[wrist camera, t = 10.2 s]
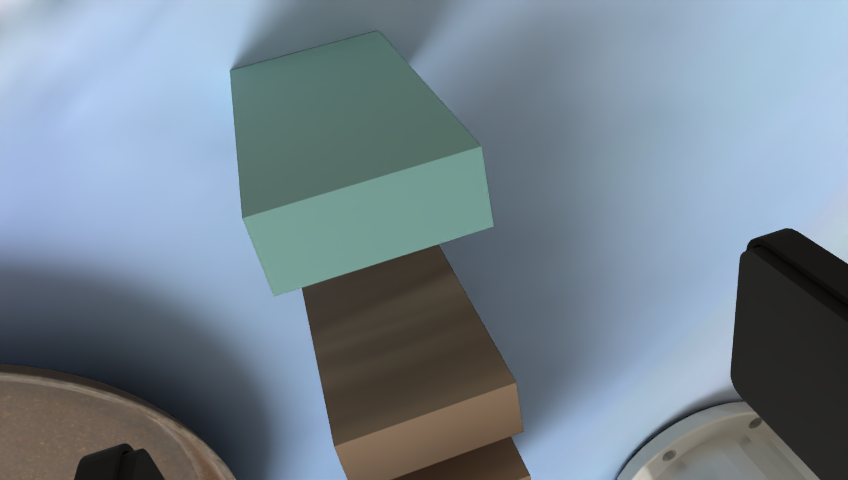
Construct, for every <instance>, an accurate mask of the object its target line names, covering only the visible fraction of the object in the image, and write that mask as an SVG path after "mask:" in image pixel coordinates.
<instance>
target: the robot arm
mask: <svg viewBox="0 0 848 480" xmlns="http://www.w3.org/2000/svg"><path fill="white" fill-rule="evenodd" d="M731 380H732V383H733V385H734V388H735V389H736V391H737V393H738V394H739V395H740V396H741V398H742V399H743V400H744V401H745V402H733V403H727V404H722V405H718V406H714V407H711V408H708V409H705V410H702V411H700V412H697V413H694V414H692V415H690V416H688V417H687V418H685V419H683V420H681V421H679V422H677V423H675V424H673V425H672V426H670V427H669V428H667V429H666V430H664V431H663V432H661V433H660V434H658V435H657V436H656V437H655V438H653V439H652V440H651V441H650V442H648V443H647V444H646V445H645V446H644V447H642V448H641V450H640V451H639V452H638V453H637V454H636V455H635V456H634V457H633V458H632V459H631V460H630V461H629V462H628V464H627V465H626V466H625V468H624V469H623V470H622V472H621V473H620V474H619V476H618V478H617V480H848V264H847V263H846V262H844V261H842V260H841V259H839V258H838V257H836V256H835V255H833V254H832V253H830V252H829V251H827V250H825V249H824V248H822V247H821V246H819V245H818V244H816V243H815V242H813V241H812V240H810V239H808V238H807V237H805V236H804V235H802V234H801V233H799V232H798V231H795V230H793V229H789V228H785V229H782V230H779V231H776V232H773V233H770V234H766V235H763V236H760V237H757V238H754V239H752V240H751V241H750V242H749V243H748V245H747V250H746V251H745V252H743V253H742V254H741V257H740V263H739V275H738V287H737V300H736V312H735V324H734V336H733V348H732V361H731ZM74 480H165V478H164V477H163V475H162V474H161V472H160V470H159V469H158V467H157V466H156V464H155V463H154V461H153V459H152V458H151V456H150V455H149V453H148V452H147V451H146V450H145V449H143V448H142V449H138V450H134V449H133V448H132V447H131V446H130V445H129V444H127V443H123V444H120V445H117V446H114V447H110V448H107V449H104V450H101V451H98V452H95V453H92V454H89V455H86V456H84V457H83V458H82V459H80V461H79V464H78V466H77V470H76V474H75V478H74Z"/></svg>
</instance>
